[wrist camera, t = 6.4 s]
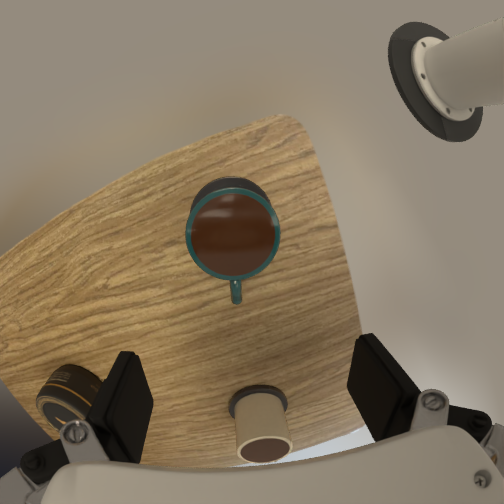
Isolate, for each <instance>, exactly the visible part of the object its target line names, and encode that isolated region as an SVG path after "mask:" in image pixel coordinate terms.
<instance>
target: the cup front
mask: <svg viewBox="0 0 504 504" xmlns="http://www.w3.org/2000/svg"><path fill="white" fill-rule="evenodd" d="M280 234H281V232H280V224H279V220H278V218H277V215H276V213H275V211H274V209H273V208H272V207H271V205H270V204H269V203H268V202H267V201H266V200H265V199H264V198H263V197H261V196H260V195H258V194H257V193H255V192H254V191H252V190H251V189H249V188H247V187H245V186H242V185H238V184H225V185H221V186H219V187H216V188H214V189H213V190H211V191H210V192H209V193H207V194H206V195H205V196H204V197H203V198H202V199H201V200H200V201H199V202H198V203H197V204H196V206H195V207H194V208H193V210H192V211H191V213H190V215H189V218H188V220H187V224H186V231H185V238H186V244H187V248H188V251H189V253H190V255H191V257H192V259H193V260H194V262H195V263H196V264H197V265H198V266H199V267H200V268H201V269H202V270H203V271H205V272H206V273H208V274H210V275H211V276H214V277H216V278H219V279H223V280H230V291H231V301H232V303H233V304H236V305H238V304H240V303H241V302H242V286H241V280H242V279H246V278H249V277H252V276H254V275H256V274H258V273H259V272H261V271H262V270H263V269H264V268H266V267H267V266H268V265H269V263H270V262H271V261H272V259H273V258H274V256H275V254H276V252H277V250H278V247H279V243H280Z"/></svg>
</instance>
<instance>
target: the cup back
mask: <svg viewBox="0 0 504 504" xmlns="http://www.w3.org/2000/svg"><path fill="white" fill-rule="evenodd" d="M234 414H235V431H236V446H237V455H238V456H239V457H240V458H241V459H242V460H244V461H246V462H250V463H270V462H276V461H278V460H280V459H282V458H284V457H286V456H287V455H288V454H289V453H290V452H291V451H292V448H293V444H292V440H291V436H290V432H289V428H288V424H287V420H286V416H285V412H284V408H283V404H282V401H281V400H280V399H279V398H278V397H276V396H275V395H272V394H268V393H255V394H250V395H248V396H245V397H243V398H242V399H240V400H239V401H238V402H237V403H236V405H235V408H234Z"/></svg>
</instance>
